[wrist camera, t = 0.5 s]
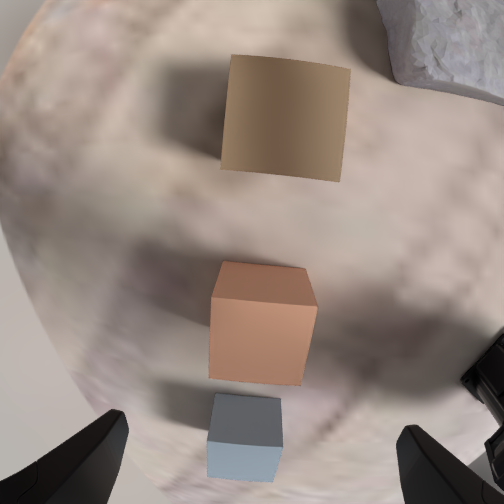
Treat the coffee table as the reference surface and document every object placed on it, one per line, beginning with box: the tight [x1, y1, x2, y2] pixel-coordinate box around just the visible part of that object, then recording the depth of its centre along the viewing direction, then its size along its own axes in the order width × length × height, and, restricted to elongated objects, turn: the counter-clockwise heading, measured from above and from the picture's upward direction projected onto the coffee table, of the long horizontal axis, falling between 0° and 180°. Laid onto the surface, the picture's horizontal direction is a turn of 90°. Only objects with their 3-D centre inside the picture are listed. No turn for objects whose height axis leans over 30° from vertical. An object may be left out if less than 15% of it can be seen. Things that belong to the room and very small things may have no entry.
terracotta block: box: [209, 261, 318, 386], centre depth 18 cm, size 5×5×5 cm
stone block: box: [376, 0, 504, 106], centre depth 13 cm, size 12×5×10 cm
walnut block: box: [220, 55, 351, 182], centre depth 15 cm, size 5×5×5 cm
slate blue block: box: [207, 393, 283, 482], centre depth 22 cm, size 5×5×5 cm
